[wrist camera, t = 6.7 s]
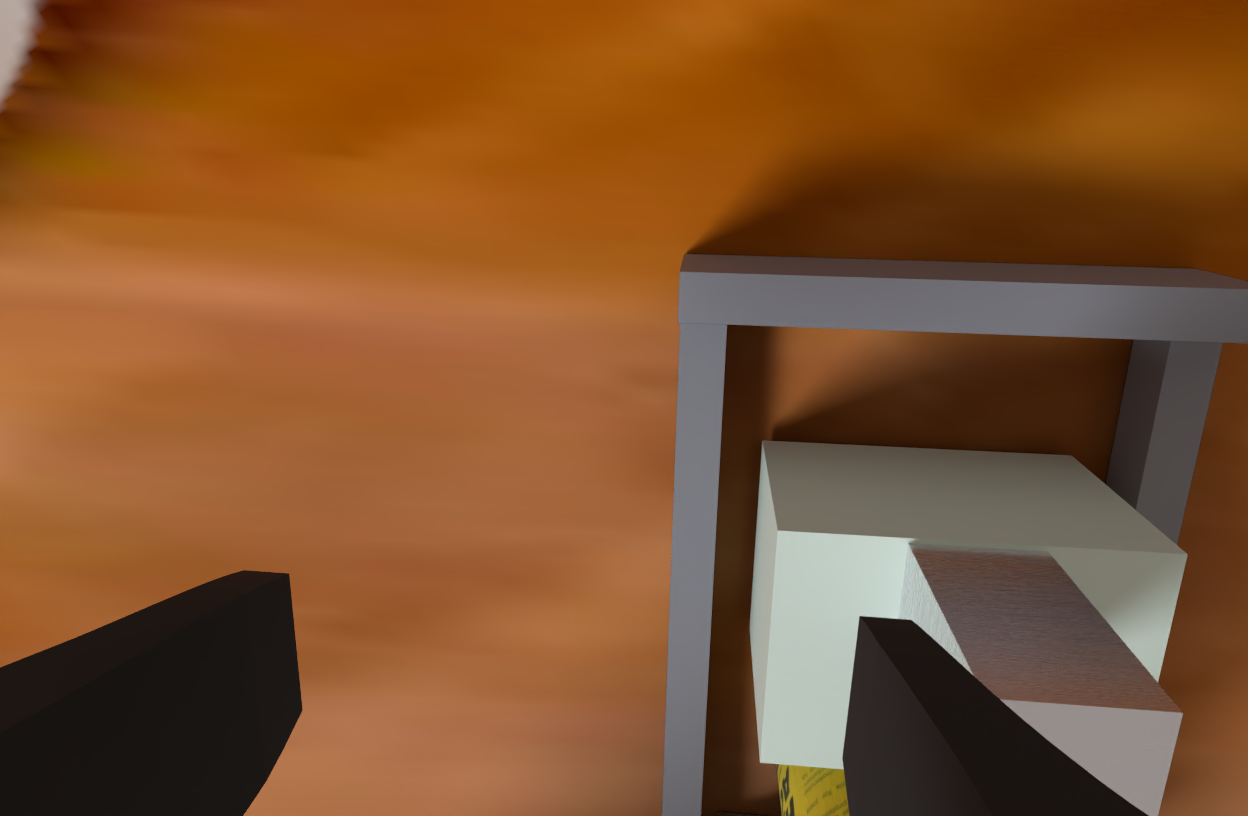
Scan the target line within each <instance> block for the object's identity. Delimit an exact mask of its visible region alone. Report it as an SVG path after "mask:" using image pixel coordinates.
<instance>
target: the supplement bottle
mask: <svg viewBox="0 0 1248 816" xmlns="http://www.w3.org/2000/svg"><path fill="white" fill-rule="evenodd" d="M776 769H777V777H778V783H779V793H780V804H781V814H782V816H850V815H849V808H848V800H847V792H846V784H845V776H844V769H832V768H820V767H807V766H795V765H783V764H776Z"/></svg>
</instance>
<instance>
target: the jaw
mask: <svg viewBox="0 0 1248 816" xmlns="http://www.w3.org/2000/svg"><path fill="white" fill-rule="evenodd" d="M1187 555H1188V554H1187V553H1186V552H1184V551H1183V550H1182V549H1181V548H1180V547H1179V546H1177V545H1176V544H1175V543H1174V542H1173V541H1172V540H1170V539H1169V538H1168V537H1167V536H1166V535H1164V534H1163V533H1162V532H1161V531H1160V530H1159V529H1157V528H1156V527H1155V526H1154V525H1153V524H1152V523H1150V522H1149V521H1148V520H1147V519H1146V518H1144V517H1143V516H1142V515H1141V514H1140V513H1139V512H1137V511H1136V510H1135V509H1134V508H1133V507H1132V506H1130V505H1129V504H1128V503H1127V502H1126V501H1125V500H1123V499H1122V498H1121V497H1120V496H1119V495H1117V494H1116V493H1115V492H1114V491H1113V490H1112V489H1110V488H1109V487H1108V486H1107V485H1106V484H1105V483H1103V482H1102V481H1101V480H1100V479H1099V478H1097V477H1096V476H1095V475H1094V474H1093V473H1092V472H1090V471H1089V470H1088V469H1087V468H1086V467H1085V466H1083V465H1082V464H1081V463H1080V462H1079V461H1078V460H1076V459H1075V458H1074V457H1073V456H1072V455H1053V454H1032V453H1011V452H991V451H970V450H949V449H929V448H908V447H888V446H867V445H846V444H826V443H805V442H784V441H764V440H762V452H761V467H760V481H759V496H758V510H757V525H756V540H755V554H754V569H753V584H752V598H751V613H750V640H751V653H752V666H753V679H754V692H755V705H756V718H757V731H758V744H759V757H760V763H771V764H783V765H795V766H807V767H820V768H832V769H844V767H843V759H842V757H843V748H844V740H845V732H846V724H847V715H848V707H849V699H850V691H851V682H852V674H853V666H854V658H855V649H856V641H857V633H858V625H859V616H866V617H880V618H893V619H907V620H912V621H913V622H915V623H916V624H917V625H918V626H919V627H921V628H922V629H923V630H924V631H925V632H926V633H927V634H929V635H930V636H931V637H932V638H933V639H934V640H935V641H936V642H937V643H938V644H940V645H941V646H942V647H943V648H944V649H945V650H946V651H947V652H948V653H949V654H950V655H952V656H953V657H954V658H955V659H956V660H957V661H958V662H959V663H960V664H961V665H962V666H963V667H965V668H966V669H967V670H968V671H969V672H970V673H971V674H972V675H973V676H974V677H975V678H977V679H978V680H979V681H980V682H981V683H982V684H983V685H984V686H985V687H987V688H988V689H989V690H990V691H991V692H992V693H993V694H994V695H995V696H997V697H998V698H999V699H1000V700H1001V701H1002V702H1003V703H1005V704H1006V705H1007V706H1008V707H1009V708H1010V709H1011V710H1013V711H1014V712H1015V713H1016V714H1017V715H1018V716H1020V717H1021V718H1022V719H1023V720H1024V721H1025V722H1027V723H1028V724H1029V725H1030V726H1031V727H1033V728H1034V729H1035V730H1036V731H1037V732H1039V733H1040V734H1041V735H1042V736H1043V737H1045V738H1046V739H1047V740H1048V741H1050V742H1051V743H1052V744H1053V745H1054V746H1056V747H1057V748H1058V749H1060V750H1061V751H1062V752H1063V753H1065V754H1066V755H1067V756H1069V757H1070V758H1071V759H1072V760H1074V761H1075V762H1076V763H1078V764H1079V765H1080V766H1081V767H1083V768H1084V769H1085V770H1086V771H1088V772H1089V773H1090V774H1092V775H1093V776H1094V777H1095V778H1097V779H1098V780H1099V781H1101V782H1102V783H1103V784H1105V785H1106V786H1107V787H1109V788H1110V789H1112V790H1113V791H1114V792H1116V793H1117V794H1118V795H1120V796H1121V797H1123V798H1124V799H1125V800H1127V801H1128V802H1130V803H1131V804H1132V805H1134V806H1135V807H1137V808H1138V809H1140V810H1141V811H1143V812H1144V813H1146V814H1147V815H1149V816H1158V814H1159V810H1160V806H1161V802H1162V798H1163V793H1164V789H1165V785H1166V781H1167V777H1168V773H1169V769H1170V765H1171V761H1172V757H1173V753H1174V749H1175V744H1176V740H1177V736H1178V732H1179V728H1180V724H1181V720H1182V716H1183V712H1182V711H1181V710H1180V709H1179V707H1178V706H1177V705H1176V704H1175V703H1174V701H1173V700H1172V699H1171V698H1170V697H1169V695H1168V694H1167V693H1166V692H1165V691H1164V689H1163V688H1162V687H1161V686H1160V685H1159V683H1158V680H1159V676H1160V672H1161V667H1162V663H1163V659H1164V654H1165V650H1166V646H1167V642H1168V637H1169V633H1170V629H1171V624H1172V620H1173V616H1174V611H1175V607H1176V603H1177V598H1178V594H1179V590H1180V586H1181V581H1182V577H1183V573H1184V568H1185V564H1186V560H1187Z"/></svg>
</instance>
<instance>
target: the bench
mask: <svg viewBox="0 0 1248 816" xmlns="http://www.w3.org/2000/svg"><path fill="white" fill-rule="evenodd" d="M678 323H680V342H679V369H678V396H677V422H676V449H675V476H674V503H673V530H672V557H671V584H670V611H669V638H668V665H667V692H666V719H665V746H664V773H663V800H662V816H701V804H702V785H703V766H704V748H705V729H706V710H707V692H708V673H709V654H710V635H711V617H712V598H713V579H714V561H715V542H716V523H717V504H718V486H719V467H720V448H721V430H722V411H723V392H724V373H725V355H726V336H727V325H753V326H780V327H808V328H835V329H863V330H890V331H917V332H945V333H972V334H1000V335H1027V336H1055V337H1082V338H1110V339H1134V341H1133V346H1132V351H1131V356H1130V361H1129V366H1128V371H1127V376H1126V382H1125V387H1124V392H1123V397H1122V402H1121V407H1120V412H1119V417H1118V422H1117V428H1116V433H1115V438H1114V443H1113V448H1112V453H1111V458H1110V463H1109V468H1108V474H1107V479H1106V485H1107V486H1108V487H1109V488H1110V489H1112V490H1113V491H1114V492H1115V493H1116V494H1117V495H1119V496H1120V497H1121V498H1122V499H1123V500H1125V501H1126V502H1127V503H1128V504H1129V505H1130V506H1132V507H1133V508H1134V509H1135V510H1136V511H1137V512H1139V513H1140V514H1141V515H1142V516H1143V517H1144V518H1146V519H1147V520H1148V521H1149V522H1150V523H1152V524H1153V525H1154V526H1155V527H1156V528H1157V529H1159V530H1160V531H1161V532H1162V533H1163V534H1164V535H1166V536H1167V537H1168V538H1169V539H1170V540H1172V541H1173V542H1174V543H1175V544H1176V545H1177V543H1178V539H1179V534H1180V530H1181V526H1182V521H1183V517H1184V512H1185V508H1186V504H1187V499H1188V495H1189V490H1190V486H1191V482H1192V477H1193V473H1194V468H1195V464H1196V460H1197V455H1198V451H1199V446H1200V442H1201V438H1202V433H1203V429H1204V424H1205V420H1206V416H1207V411H1208V407H1209V402H1210V398H1211V394H1212V389H1213V385H1214V380H1215V376H1216V372H1217V367H1218V363H1219V358H1220V354H1221V350H1222V345H1223V343H1247V344H1248V281H1245V280H1241V279H1237V278H1233V277H1229V276H1224V275H1220V274H1216V273H1212V272H1208V271H1204V270H1200V269H1190V268H1156V267H1122V266H1087V265H1053V264H1019V263H985V262H950V261H916V260H882V259H847V258H813V257H779V256H744V255H710V254H684V258H683V262H682V266H681V269H680V281H679V308H678ZM718 816H761V815H749V814H738V813H726V812H718Z"/></svg>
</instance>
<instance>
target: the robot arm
mask: <svg viewBox="0 0 1248 816" xmlns="http://www.w3.org/2000/svg"><path fill="white" fill-rule="evenodd" d="M301 712H302V701H301V691H300V681H299V671H298V660H297V650H296V640H295V630H294V620H293V609H292V599H291V589H290V579H289V574H286V573H272V572H259V571H245V570H244V571H240V572H237V573H233V574H230V575H227V576H224V577H221V578H218V579H215V580H213V581H210V582H207V583H205V584H202V585H200V586H197V587H195V588H192V589H190V590H187V591H185V592H183V593H180V594H178V595H175V596H173V597H171V598H168V599H166V600H163V601H161V602H159V603H156V604H154V605H152V606H149V607H147V608H145V609H142V610H140V611H138V612H135V613H133V614H131V615H128V616H126V617H124V618H121V619H119V620H117V621H114V622H112V623H110V624H107V625H105V626H103V627H100V628H98V629H95V630H93V631H91V632H88V633H86V634H84V635H81V636H79V637H77V638H74V639H71V640H69V641H66V642H64V643H61V644H59V645H56V646H54V647H51V648H49V649H46V650H44V651H41V652H39V653H36V654H34V655H31V656H29V657H26V658H23V659H21V660H18V661H16V662H13V663H11V664H8V665H6V666H3V667H1V668H0V816H243V815H244V813H245V812H246V810H247V809H248V808H249V806H250V805H251V803H252V802H253V800H254V799H255V797H256V796H257V794H258V793H259V791H260V790H261V788H262V787H263V785H264V784H265V782H266V781H267V779H268V777H269V775H270V773H271V771H272V769H273V768H274V766H275V764H276V762H277V760H278V758H279V756H280V754H281V753H282V751H283V749H284V747H285V745H286V743H287V741H288V739H289V737H290V734H291V732H292V730H293V728H294V726H295V724H296V722H297V720H298V718H299V716H300V714H301ZM842 759H843V767H844V776H845V784H846V792H847V800H848V808H849V815H850V816H1149V815H1147V814H1146V813H1144V812H1143V811H1141V810H1140V809H1138V808H1137V807H1135V806H1134V805H1132V804H1131V803H1130V802H1128V801H1127V800H1125V799H1124V798H1123V797H1121V796H1120V795H1118V794H1117V793H1116V792H1114V791H1113V790H1112V789H1110V788H1109V787H1107V786H1106V785H1105V784H1103V783H1102V782H1101V781H1099V780H1098V779H1097V778H1095V777H1094V776H1093V775H1092V774H1090V773H1089V772H1088V771H1086V770H1085V769H1084V768H1083V767H1081V766H1080V765H1079V764H1078V763H1076V762H1075V761H1074V760H1072V759H1071V758H1070V757H1069V756H1067V755H1066V754H1065V753H1063V752H1062V751H1061V750H1060V749H1058V748H1057V747H1056V746H1054V745H1053V744H1052V743H1051V742H1050V741H1048V740H1047V739H1046V738H1045V737H1043V736H1042V735H1041V734H1040V733H1039V732H1037V731H1036V730H1035V729H1034V728H1033V727H1031V726H1030V725H1029V724H1028V723H1027V722H1025V721H1024V720H1023V719H1022V718H1021V717H1020V716H1018V715H1017V714H1016V713H1015V712H1014V711H1013V710H1011V709H1010V708H1009V707H1008V706H1007V705H1006V704H1005V703H1003V702H1002V701H1001V700H1000V699H999V698H998V697H997V696H995V695H994V694H993V693H992V692H991V691H990V690H989V689H988V688H987V687H985V686H984V685H983V684H982V683H981V682H980V681H979V680H978V679H977V678H975V677H974V676H973V675H972V674H971V673H970V672H969V671H968V670H967V669H966V668H965V667H963V666H962V665H961V664H960V663H959V662H958V661H957V660H956V659H955V658H954V657H953V656H952V655H950V654H949V653H948V652H947V651H946V650H945V649H944V648H943V647H942V646H941V645H940V644H938V643H937V642H936V641H935V640H934V639H933V638H932V637H931V636H930V635H929V634H927V633H926V632H925V631H924V630H923V629H922V628H921V627H919V626H918V625H917V624H916V623H915V622H913V621H912V620H907V619H893V618H880V617H866V616H859V625H858V633H857V641H856V649H855V658H854V666H853V674H852V682H851V691H850V699H849V707H848V715H847V724H846V732H845V740H844V748H843V757H842Z"/></svg>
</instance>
